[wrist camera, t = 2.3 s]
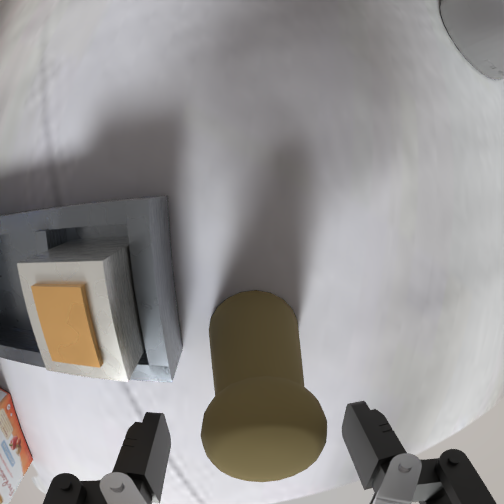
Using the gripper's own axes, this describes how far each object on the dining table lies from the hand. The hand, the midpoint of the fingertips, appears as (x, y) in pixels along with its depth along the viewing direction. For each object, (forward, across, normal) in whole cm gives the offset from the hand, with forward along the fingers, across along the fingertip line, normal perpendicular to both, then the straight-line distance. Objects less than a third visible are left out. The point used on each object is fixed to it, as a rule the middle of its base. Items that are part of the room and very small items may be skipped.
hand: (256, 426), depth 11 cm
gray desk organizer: (+9, +14, -4) cm, 17 cm away
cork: (+9, 0, 0) cm, 9 cm away
